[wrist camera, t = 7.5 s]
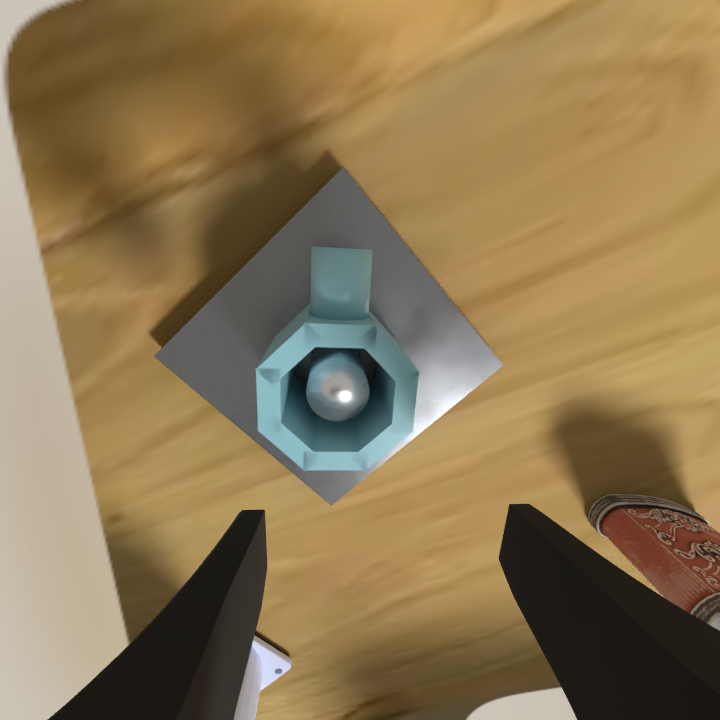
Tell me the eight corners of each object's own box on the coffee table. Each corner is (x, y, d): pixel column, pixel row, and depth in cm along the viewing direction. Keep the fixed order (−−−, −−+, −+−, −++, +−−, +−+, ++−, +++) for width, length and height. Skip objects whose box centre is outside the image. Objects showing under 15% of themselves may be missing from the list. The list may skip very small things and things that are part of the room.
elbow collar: (388, 413, 18) (409, 471, 14) (277, 411, 18) (258, 471, 13) (402, 251, 16) (433, 253, 11) (274, 244, 16) (250, 243, 11)
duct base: (331, 493, 21) (331, 566, 16) (163, 350, 18) (101, 388, 13) (494, 359, 19) (549, 396, 14) (342, 171, 16) (347, 139, 11)
